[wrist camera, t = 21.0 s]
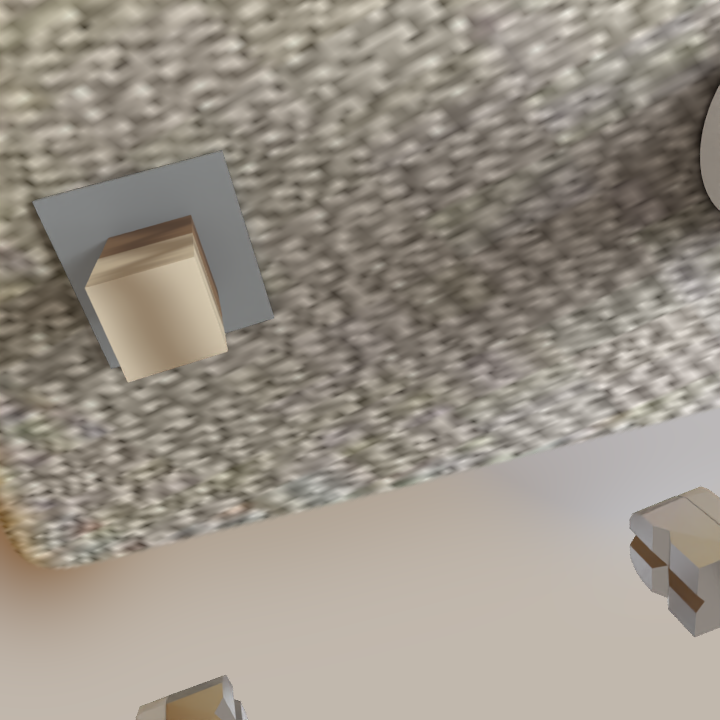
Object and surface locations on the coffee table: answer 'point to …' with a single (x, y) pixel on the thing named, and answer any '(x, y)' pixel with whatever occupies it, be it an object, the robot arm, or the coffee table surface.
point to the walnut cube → (157, 235)
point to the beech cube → (157, 307)
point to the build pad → (154, 206)
